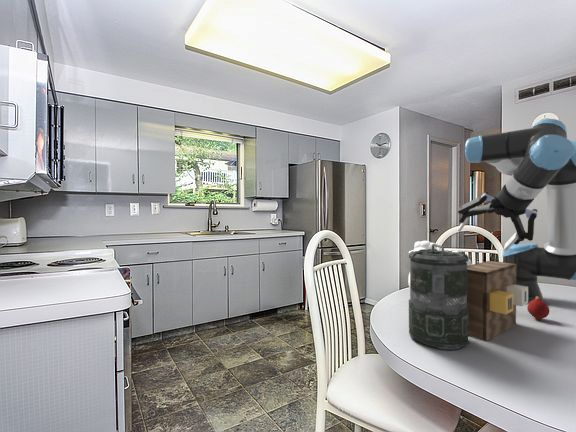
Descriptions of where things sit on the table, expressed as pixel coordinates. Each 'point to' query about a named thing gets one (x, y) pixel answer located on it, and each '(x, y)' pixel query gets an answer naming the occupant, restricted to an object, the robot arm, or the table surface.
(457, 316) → the canister
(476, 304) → the console
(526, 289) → the button one
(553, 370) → the table surface
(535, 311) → the onion
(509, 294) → the button two
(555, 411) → the table surface
